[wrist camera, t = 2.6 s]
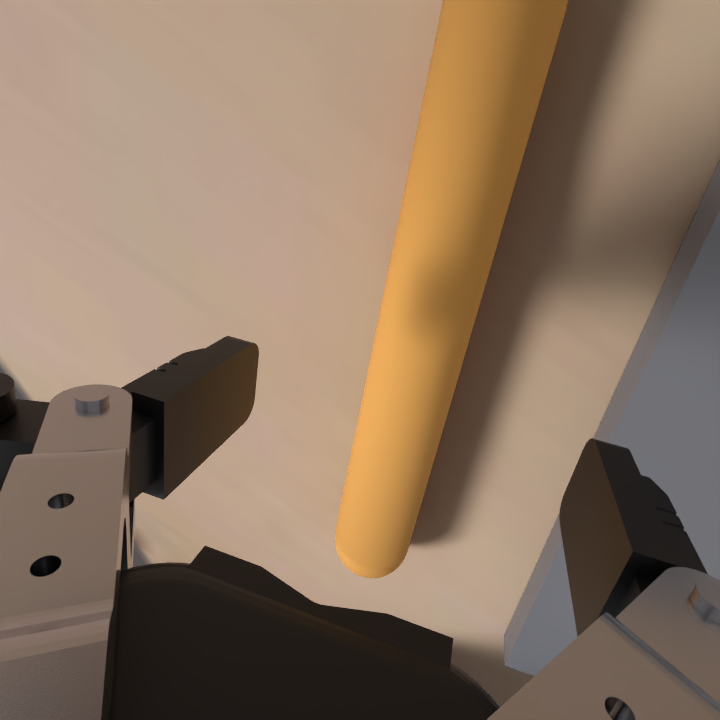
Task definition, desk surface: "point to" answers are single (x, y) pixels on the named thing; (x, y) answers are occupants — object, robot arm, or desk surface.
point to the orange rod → (441, 260)
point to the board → (652, 432)
